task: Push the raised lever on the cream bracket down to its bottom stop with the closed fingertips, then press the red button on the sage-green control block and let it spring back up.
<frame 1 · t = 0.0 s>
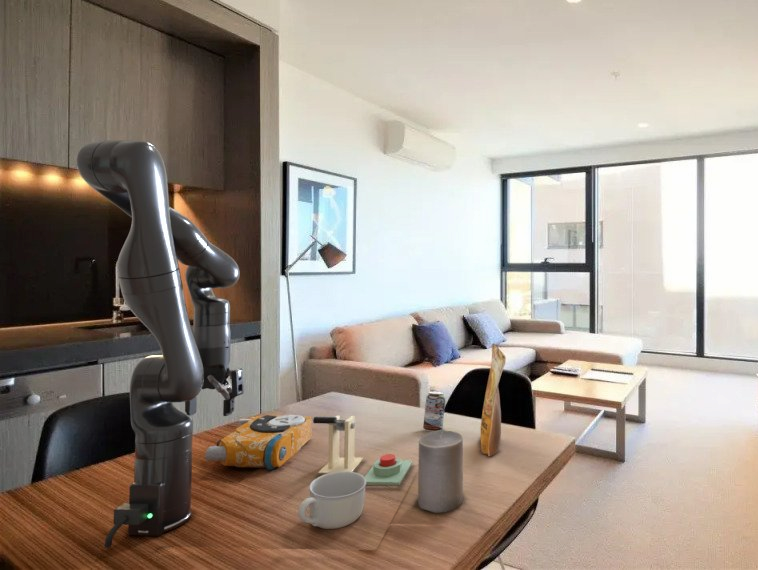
hand: (209, 414, 104), 17 cm above the table, tool pointing down, fingers open, 8 cm apart
lever bracket: (341, 469, 115), on the table
teacup: (330, 527, 90), on the table
pancake mix bag: (492, 445, 131), on the table
pillar candle: (440, 502, 99), on the table
device: (263, 452, 126), on the table
button block: (387, 477, 111), on the table
press lever: (334, 423, 111), point 13 cm above the table, hinge at 25.0°
cancel button: (387, 460, 111), point 4 cm above the table, slide at 0.2 cm
beverage can: (434, 431, 142), on the table
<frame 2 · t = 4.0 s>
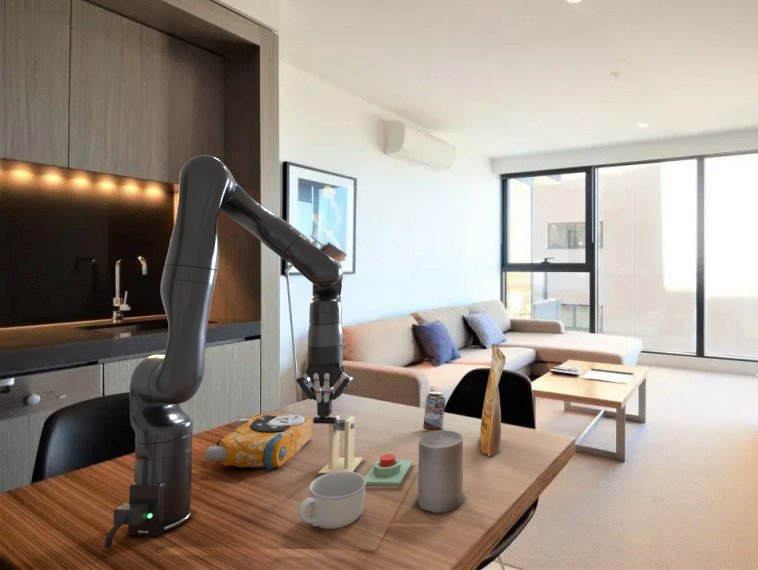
hand: (324, 417, 105), 16 cm above the table, tool pointing down, fingers closed
press lever: (334, 423, 111), point 13 cm above the table, hinge at 24.7°, touching gripper
everything else where it was.
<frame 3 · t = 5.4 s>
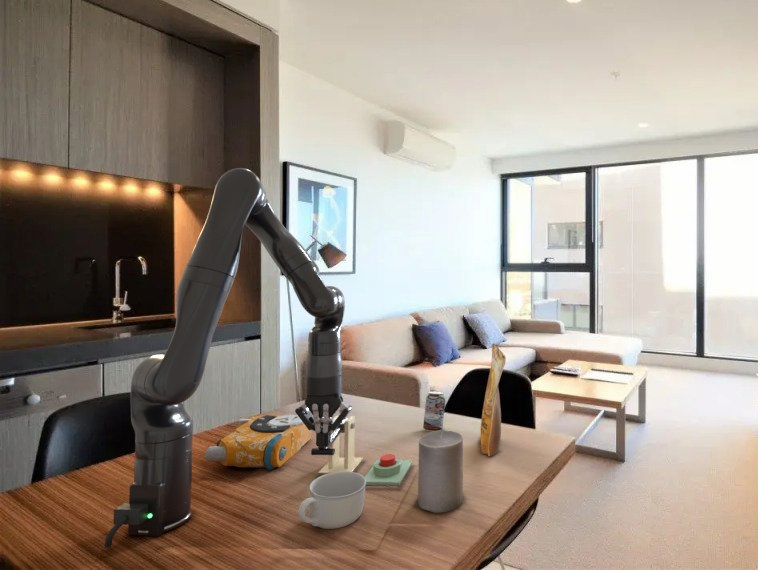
hand: (323, 447, 105), 9 cm above the table, tool pointing down, fingers closed
press lever: (333, 437, 110), point 10 cm above the table, hinge at -11.9°, touching gripper
everything else where it was.
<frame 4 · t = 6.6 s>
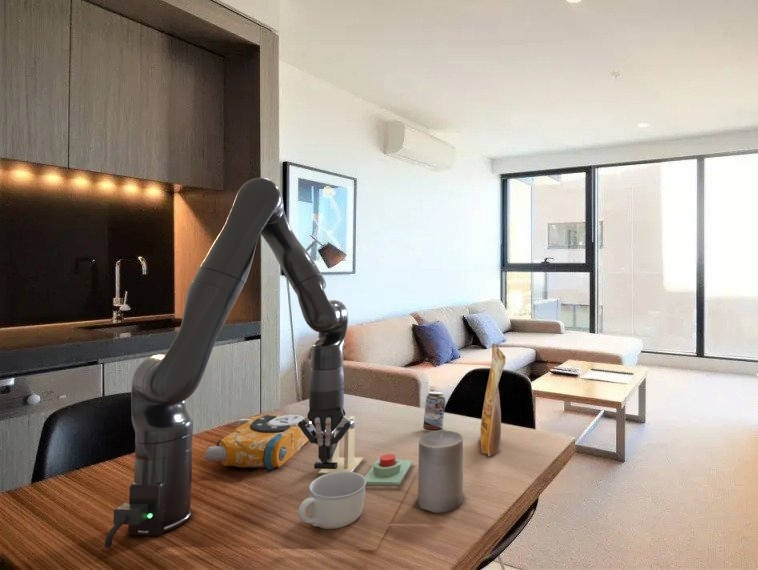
hand: (325, 460, 106), 6 cm above the table, tool pointing down, fingers closed
press lever: (334, 443, 111), point 8 cm above the table, hinge at -33.7°, touching gripper
everything else where it was.
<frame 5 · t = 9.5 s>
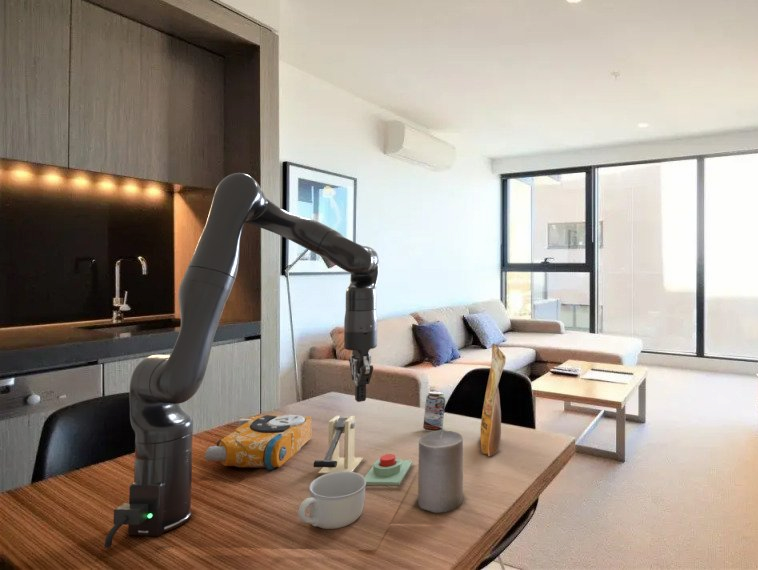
hand: (360, 400, 109), 19 cm above the table, tool pointing down, fingers closed
press lever: (334, 442, 111), point 8 cm above the table, hinge at -30.6°
everything else where it was.
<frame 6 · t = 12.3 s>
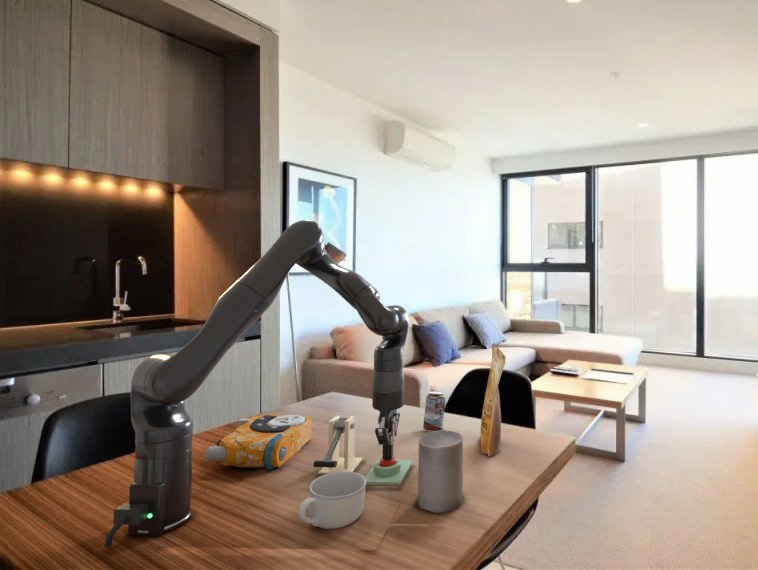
hand: (387, 458, 111), 4 cm above the table, tool pointing down, fingers closed
cancel button: (387, 462, 111), point 4 cm above the table, slide at -0.3 cm, touching gripper
everything else where it was.
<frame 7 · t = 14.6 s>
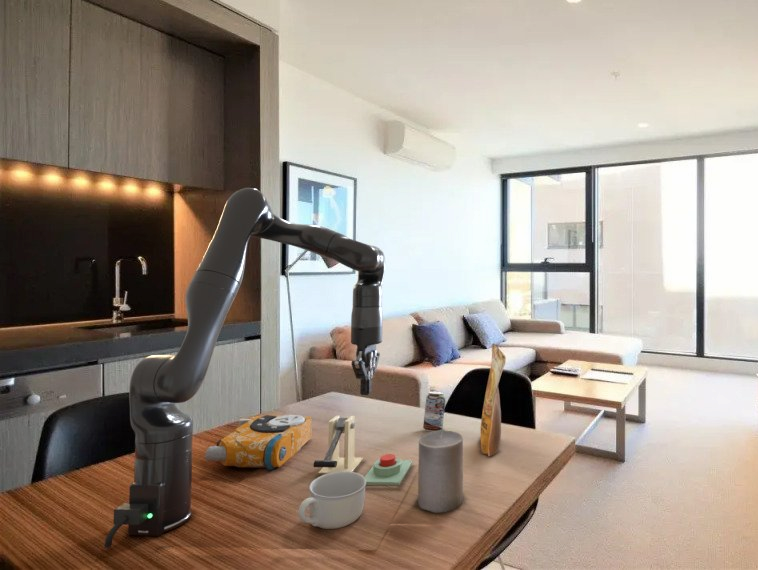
hand: (365, 394, 113), 20 cm above the table, tool pointing down, fingers closed
cancel button: (387, 460, 111), point 4 cm above the table, slide at 0.2 cm
everything else where it was.
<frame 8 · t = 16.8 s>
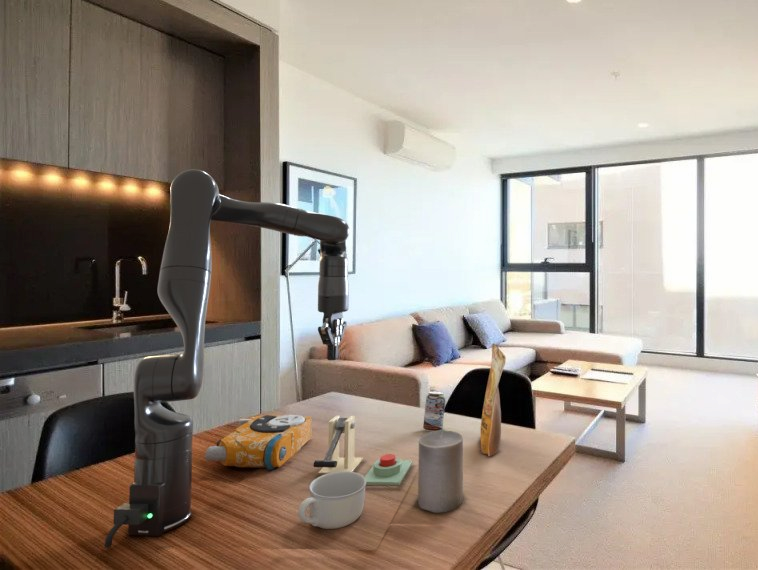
hand: (332, 359, 119), 27 cm above the table, tool pointing down, fingers closed
nothing on the table moved.
at the end: press lever at -31° (first picture: +25°); cancel button pushed in 1.1 cm at the most during the clip, back to 0.2 cm at the end; cancel button slide at 0.2 cm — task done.
